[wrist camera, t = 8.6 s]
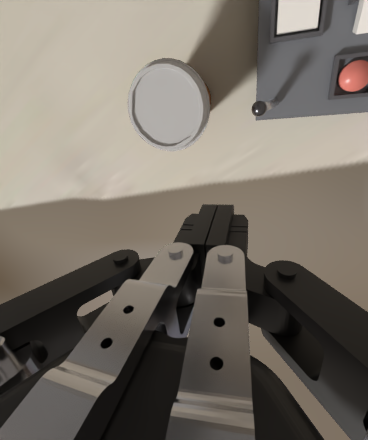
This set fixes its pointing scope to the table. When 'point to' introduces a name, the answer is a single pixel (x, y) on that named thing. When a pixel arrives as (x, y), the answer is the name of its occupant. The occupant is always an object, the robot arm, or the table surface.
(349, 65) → the button
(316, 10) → the paddle
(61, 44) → the table surface
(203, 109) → the disposable coffee cup
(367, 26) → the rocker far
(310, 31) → the panel
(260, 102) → the toggle
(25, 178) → the table surface
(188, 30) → the table surface
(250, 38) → the table surface
